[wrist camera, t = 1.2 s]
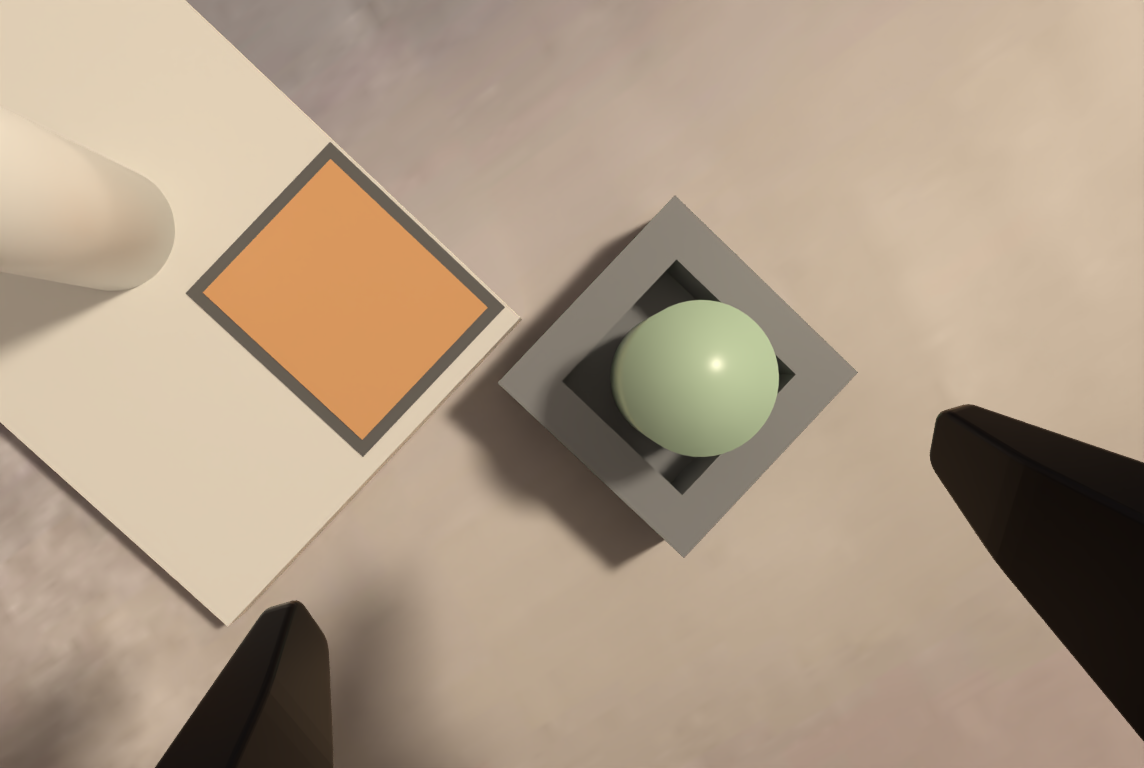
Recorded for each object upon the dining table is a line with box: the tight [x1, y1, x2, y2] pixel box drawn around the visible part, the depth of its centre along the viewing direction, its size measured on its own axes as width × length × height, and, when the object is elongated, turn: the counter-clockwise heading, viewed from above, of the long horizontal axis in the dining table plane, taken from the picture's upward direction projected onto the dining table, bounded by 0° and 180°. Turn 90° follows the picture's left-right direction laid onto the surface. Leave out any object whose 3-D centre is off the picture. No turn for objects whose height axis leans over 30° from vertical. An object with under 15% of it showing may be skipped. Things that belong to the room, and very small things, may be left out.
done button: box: [610, 300, 779, 457], centre depth 19 cm, size 4×4×4 cm
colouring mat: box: [0, 0, 521, 626], centre depth 22 cm, size 14×21×1 cm, turn 47°
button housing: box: [498, 196, 858, 558], centre depth 22 cm, size 8×8×2 cm
